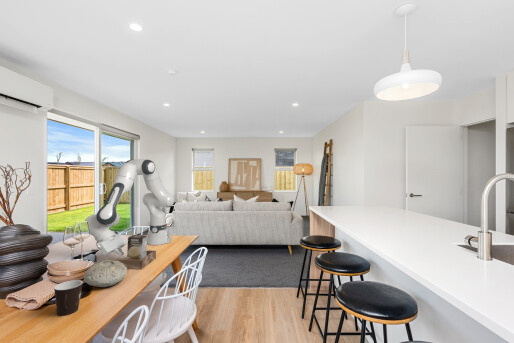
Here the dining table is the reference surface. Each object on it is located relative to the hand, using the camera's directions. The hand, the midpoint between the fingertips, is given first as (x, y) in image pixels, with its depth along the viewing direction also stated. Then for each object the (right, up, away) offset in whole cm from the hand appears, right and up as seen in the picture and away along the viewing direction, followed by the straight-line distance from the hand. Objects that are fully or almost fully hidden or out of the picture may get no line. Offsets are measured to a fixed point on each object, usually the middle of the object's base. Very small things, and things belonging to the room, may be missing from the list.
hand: (121, 255), depth 146 cm
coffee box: (+9, -5, 0) cm, 10 cm away
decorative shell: (+8, -4, -28) cm, 29 cm away
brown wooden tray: (+7, -6, 0) cm, 9 cm away
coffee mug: (+8, -4, -54) cm, 55 cm away
